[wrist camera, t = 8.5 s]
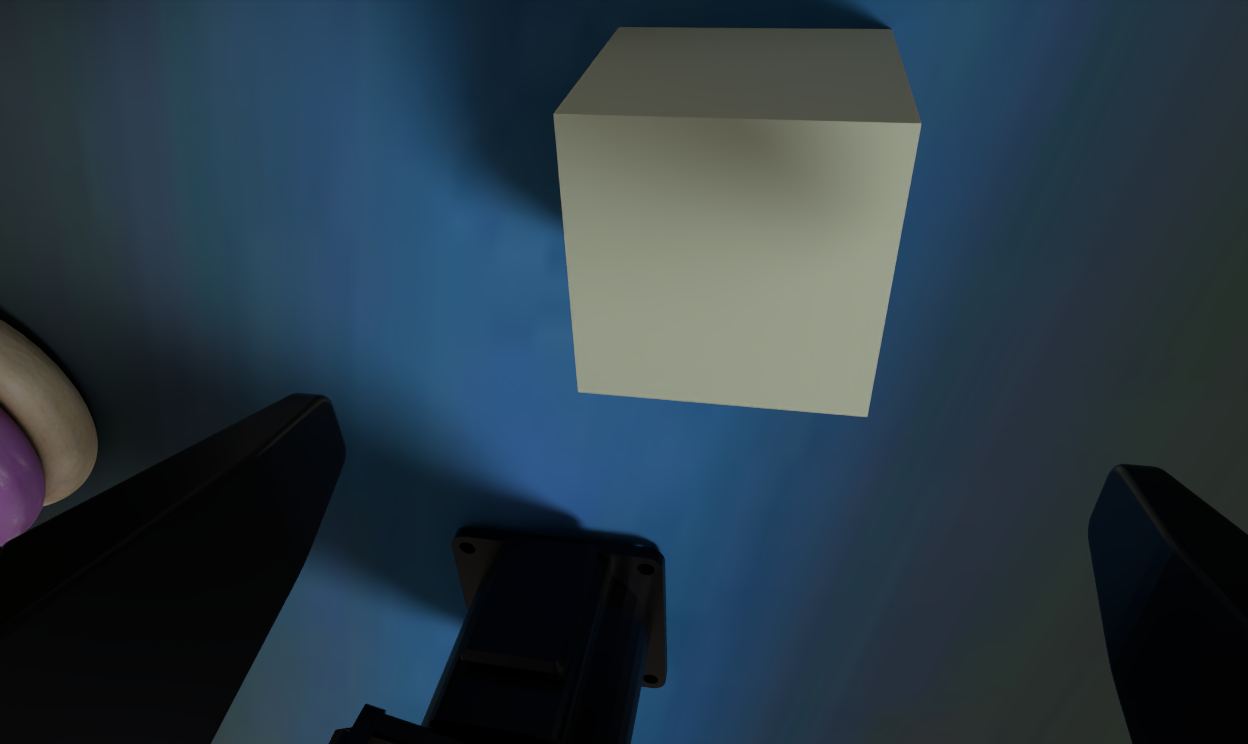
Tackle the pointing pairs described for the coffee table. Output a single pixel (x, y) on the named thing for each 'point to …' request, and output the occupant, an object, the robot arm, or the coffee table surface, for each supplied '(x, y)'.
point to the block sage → (735, 213)
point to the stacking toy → (38, 434)
